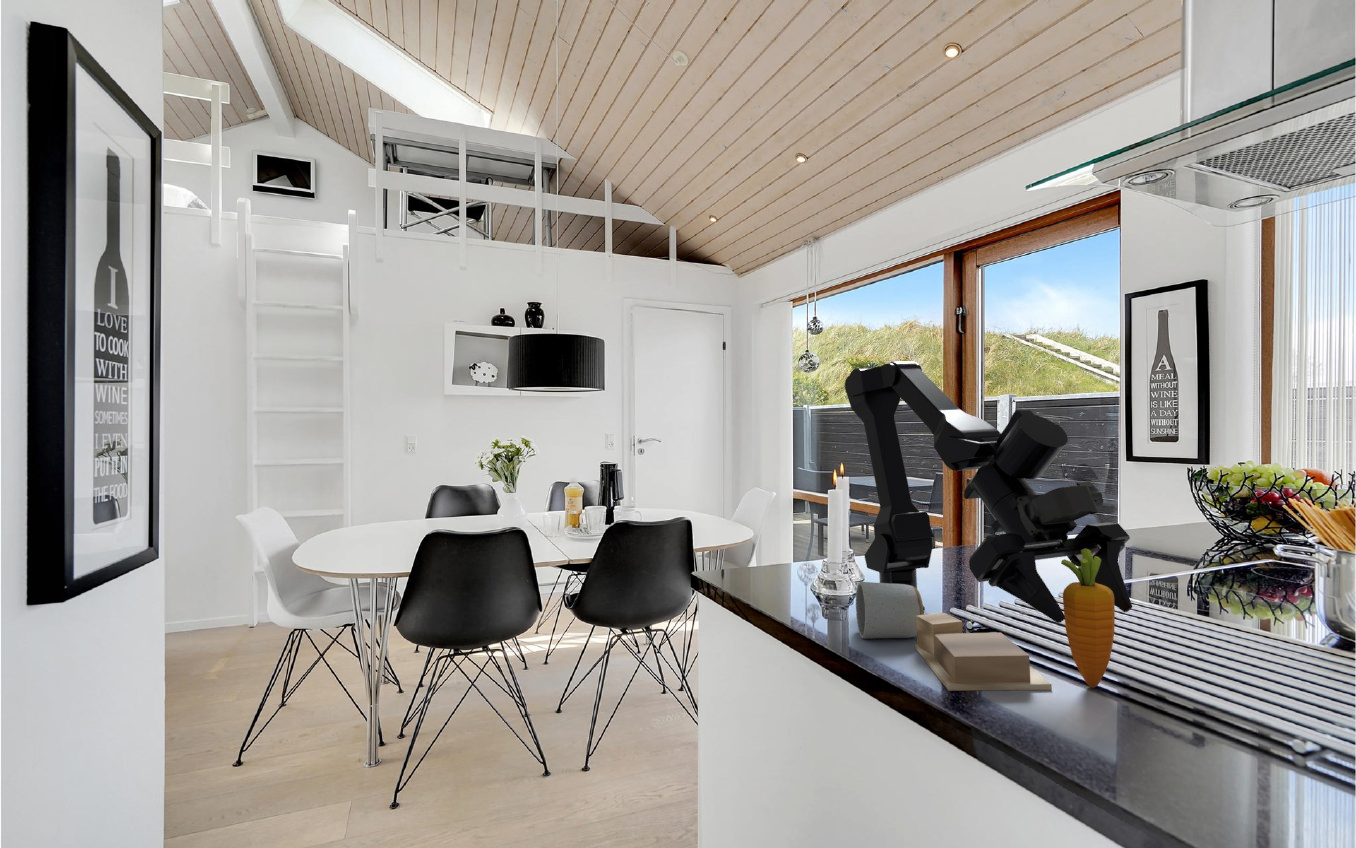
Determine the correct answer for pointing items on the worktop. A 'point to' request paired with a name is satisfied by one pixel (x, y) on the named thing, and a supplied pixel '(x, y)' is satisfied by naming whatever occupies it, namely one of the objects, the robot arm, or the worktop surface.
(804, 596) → the worktop surface
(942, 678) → the birch board
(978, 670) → the light brown square block
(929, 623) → the oak cube
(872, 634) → the grey cylinder on side
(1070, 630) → the carrot
